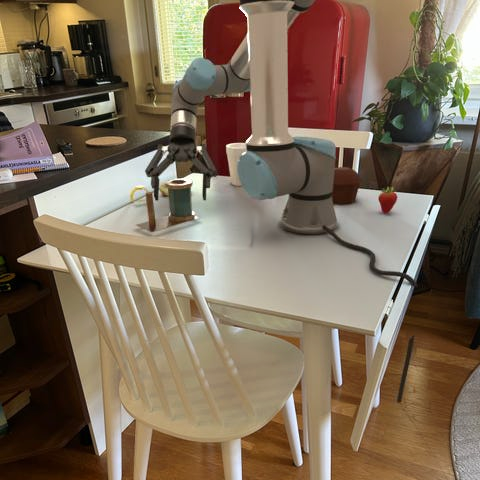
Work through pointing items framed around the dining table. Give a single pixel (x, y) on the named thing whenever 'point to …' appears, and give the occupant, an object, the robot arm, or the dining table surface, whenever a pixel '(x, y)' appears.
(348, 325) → the dining table surface
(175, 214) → the spool
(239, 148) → the foam cup
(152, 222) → the spool stand
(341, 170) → the muffin
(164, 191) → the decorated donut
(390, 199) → the fruit
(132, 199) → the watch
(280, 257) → the dining table surface
